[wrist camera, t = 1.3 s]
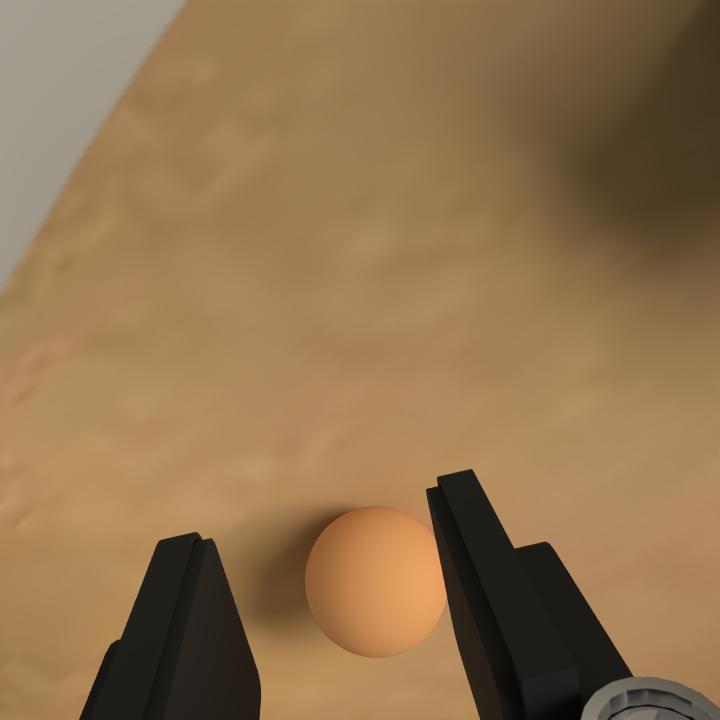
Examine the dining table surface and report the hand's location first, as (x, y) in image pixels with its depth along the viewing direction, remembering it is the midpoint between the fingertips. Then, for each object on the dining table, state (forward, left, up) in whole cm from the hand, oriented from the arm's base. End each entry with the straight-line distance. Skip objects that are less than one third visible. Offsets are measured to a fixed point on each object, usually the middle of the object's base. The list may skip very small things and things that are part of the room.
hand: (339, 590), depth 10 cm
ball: (-4, +9, -13) cm, 16 cm away
